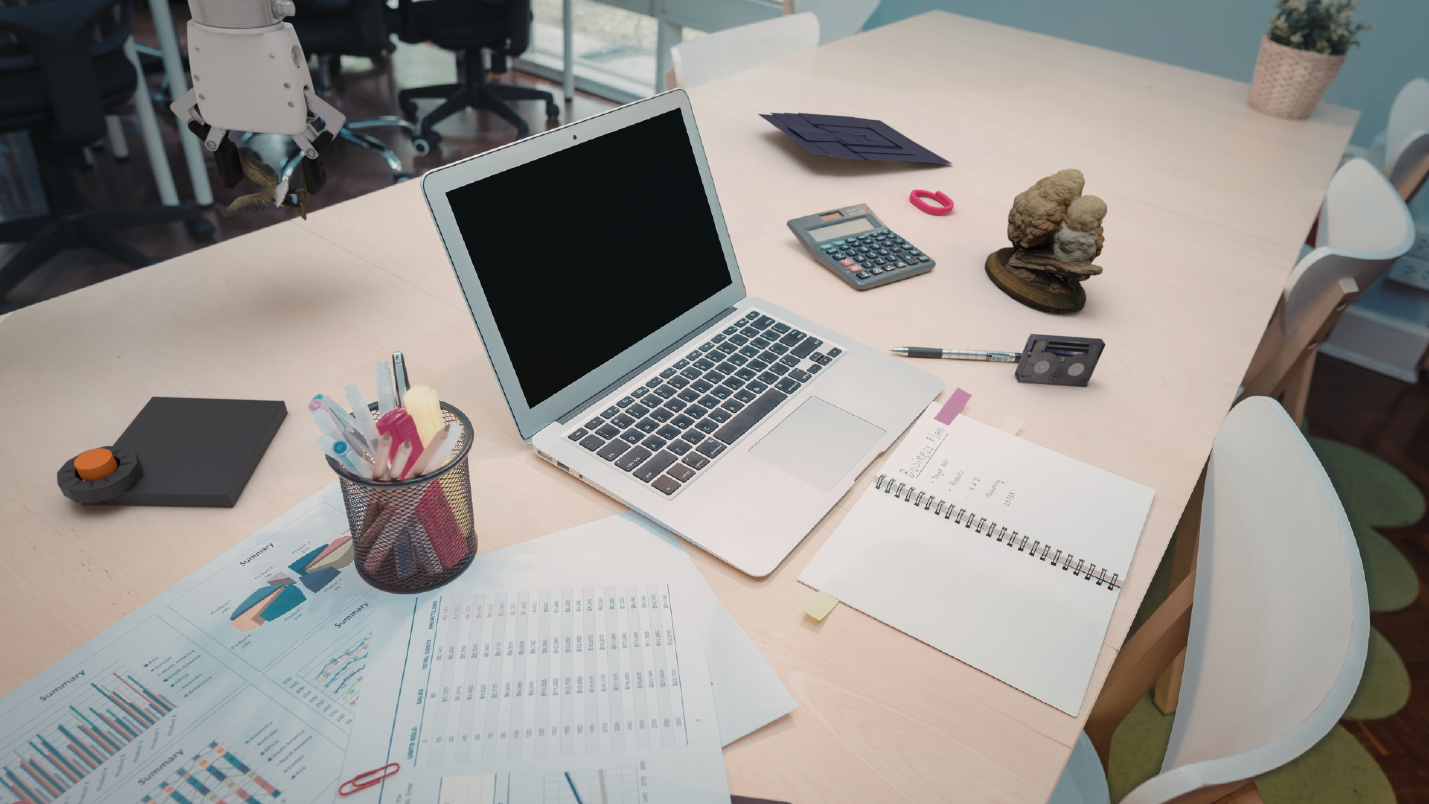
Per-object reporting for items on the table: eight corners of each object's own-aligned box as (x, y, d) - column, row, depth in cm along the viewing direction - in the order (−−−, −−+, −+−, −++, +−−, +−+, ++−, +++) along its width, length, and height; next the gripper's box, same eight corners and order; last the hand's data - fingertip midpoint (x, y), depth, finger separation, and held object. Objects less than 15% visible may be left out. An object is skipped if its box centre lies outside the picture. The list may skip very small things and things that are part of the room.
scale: (57, 516, 66) (41, 489, 65) (143, 408, 78) (133, 383, 76) (227, 519, 68) (217, 493, 66) (288, 413, 79) (281, 388, 77)
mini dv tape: (1081, 379, 96) (1100, 336, 92) (1086, 386, 95) (1105, 344, 91) (1014, 374, 96) (1030, 331, 92) (1018, 382, 94) (1034, 338, 91)
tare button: (73, 481, 66) (66, 468, 65) (91, 459, 68) (84, 447, 67) (107, 481, 66) (101, 469, 66) (123, 460, 68) (118, 448, 68)
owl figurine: (1111, 315, 109) (1165, 195, 99) (1040, 324, 106) (1087, 200, 95) (1030, 253, 122) (1070, 142, 112) (964, 259, 119) (999, 145, 108)
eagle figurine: (325, 190, 92) (240, 166, 90) (315, 152, 86) (223, 126, 84) (303, 247, 89) (215, 224, 87) (290, 212, 83) (195, 186, 81)
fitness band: (959, 214, 132) (962, 205, 131) (929, 217, 130) (932, 208, 129) (931, 194, 138) (933, 185, 137) (902, 196, 136) (904, 188, 135)
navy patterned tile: (749, 125, 154) (753, 105, 152) (875, 133, 167) (880, 115, 165) (814, 174, 137) (820, 153, 135) (948, 178, 150) (955, 159, 148)
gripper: (344, 9, 80) (370, 180, 91) (156, -10, 78) (205, 167, 89) (319, 27, 74) (350, 207, 85) (115, 7, 72) (173, 194, 83)
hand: (276, 185), depth 87 cm, fingers closed on eagle figurine, 7 cm apart
